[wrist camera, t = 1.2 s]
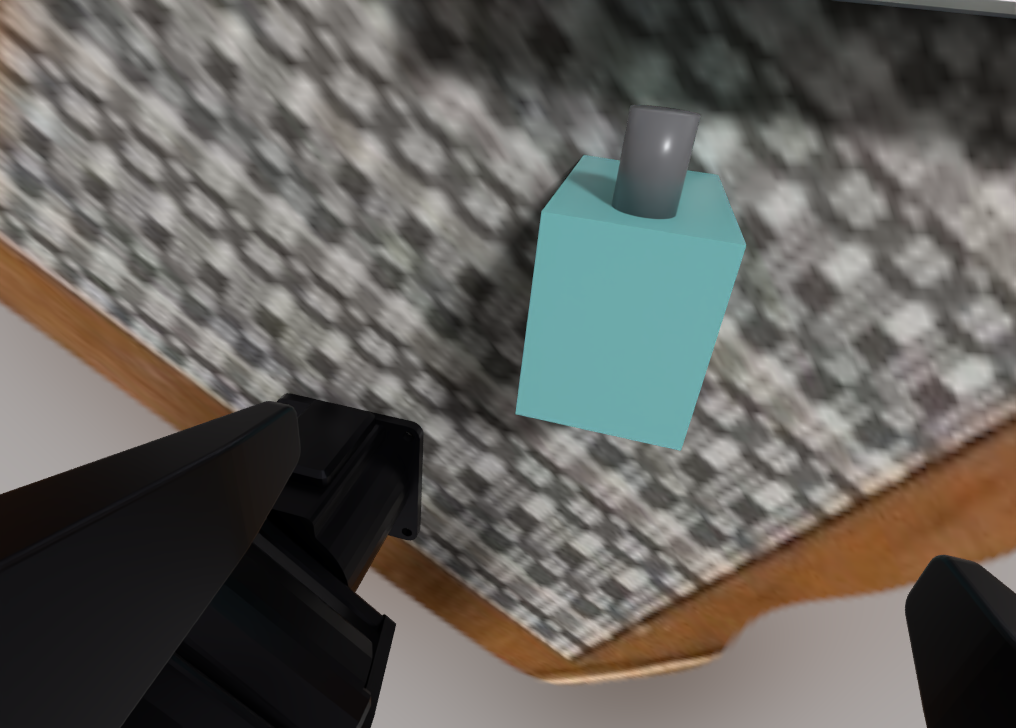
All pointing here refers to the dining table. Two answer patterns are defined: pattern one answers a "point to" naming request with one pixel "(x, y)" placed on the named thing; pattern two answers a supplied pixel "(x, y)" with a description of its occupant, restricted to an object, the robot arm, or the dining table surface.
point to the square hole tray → (953, 6)
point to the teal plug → (630, 287)
